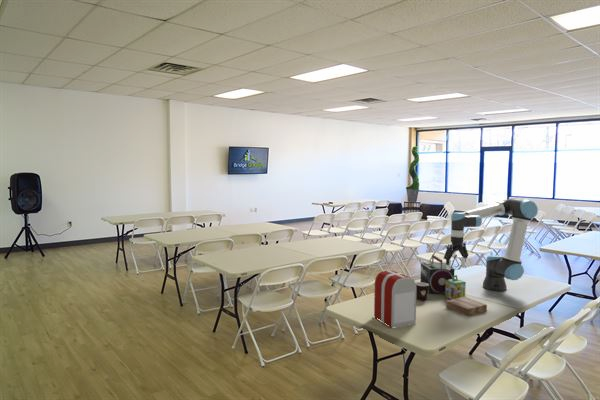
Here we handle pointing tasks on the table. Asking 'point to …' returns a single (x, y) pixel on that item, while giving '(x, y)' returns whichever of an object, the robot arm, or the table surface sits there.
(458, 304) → the walnut base
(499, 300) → the table surface
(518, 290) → the table surface
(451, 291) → the chalk box
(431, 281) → the boombox
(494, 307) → the table surface
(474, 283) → the table surface
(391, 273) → the red white striped case
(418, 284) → the coffee mug
